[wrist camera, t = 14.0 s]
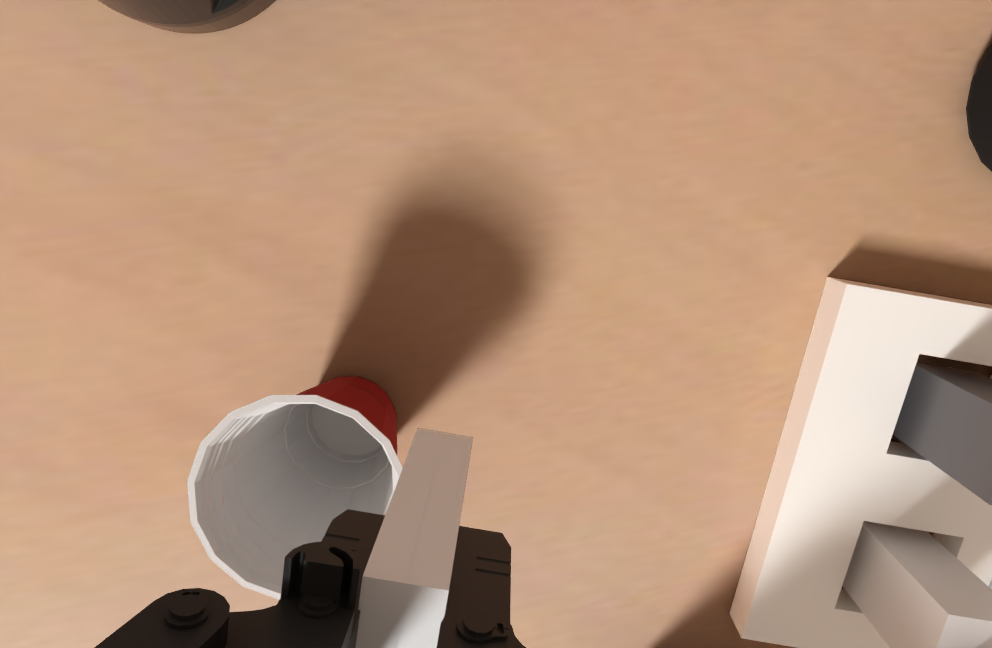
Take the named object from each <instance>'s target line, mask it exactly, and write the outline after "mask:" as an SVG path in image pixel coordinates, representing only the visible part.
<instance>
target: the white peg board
mask: <svg viewBox="0 0 992 648" xmlns="http://www.w3.org/2000/svg"><path fill="white" fill-rule="evenodd" d="M919 354H923V355H929V356H934V357H940V358H946V359H952V360H958V361H964V362H970V363H975V364H981V365H987V366H992V305H989V304H983V303H977V302H972V301H966V300H960V299H954V298H948V297H943V296H937V295H931V294H925V293H919V292H914V291H908V290H902V289H896V288H890V287H884V286H879V285H873V284H867V283H861V282H855V281H850V280H844V279H838V278H832V277H827V279H826V283H825V286H824V290H823V293H822V297H821V300H820V304H819V307H818V310H817V314H816V317H815V321H814V324H813V328H812V331H811V335H810V338H809V341H808V345H807V348H806V352H805V355H804V359H803V362H802V366H801V369H800V372H799V376H798V379H797V383H796V386H795V390H794V393H793V397H792V400H791V403H790V407H789V410H788V414H787V417H786V421H785V424H784V428H783V431H782V434H781V438H780V441H779V445H778V448H777V452H776V455H775V459H774V462H773V465H772V469H771V472H770V476H769V479H768V483H767V486H766V490H765V493H764V496H763V500H762V503H761V507H760V510H759V514H758V517H757V521H756V524H755V527H754V531H753V534H752V538H751V541H750V545H749V548H748V551H747V555H746V558H745V562H744V565H743V569H742V572H741V576H740V579H739V582H738V586H737V589H736V593H735V596H734V600H733V603H732V607H731V610H730V616H731V618H732V620H733V622H734V624H735V626H736V628H737V630H738V632H739V635H740V637H741V638H742V639H748V640H754V641H760V642H766V643H772V644H778V645H784V646H790V647H796V648H992V505H989V504H988V503H986V502H985V501H983V500H982V499H981V498H979V497H978V496H977V495H975V494H974V493H972V492H971V491H970V490H968V489H967V488H966V487H964V486H963V485H961V484H960V483H959V482H957V481H956V480H954V479H953V478H952V477H950V476H949V475H948V474H946V473H945V472H943V471H942V470H941V469H939V468H938V467H937V466H935V465H934V464H932V463H931V462H930V461H928V460H927V459H926V458H924V457H923V456H921V455H920V454H919V453H917V452H916V451H914V450H913V449H912V448H910V447H909V446H908V445H906V444H903V443H897V442H891V438H892V435H893V432H894V429H895V426H896V423H897V420H898V417H899V414H900V411H901V408H902V405H903V402H904V399H905V396H906V393H907V390H908V387H909V384H910V381H911V378H912V375H913V372H914V369H915V366H916V363H917V360H918V357H919ZM990 378H991V379H992V374H991V377H990ZM927 531H928V532H934V534H933V536H932V535H930V534H929V533H928V532H927ZM842 586H843V587H844V589H841V588H842Z"/></svg>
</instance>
